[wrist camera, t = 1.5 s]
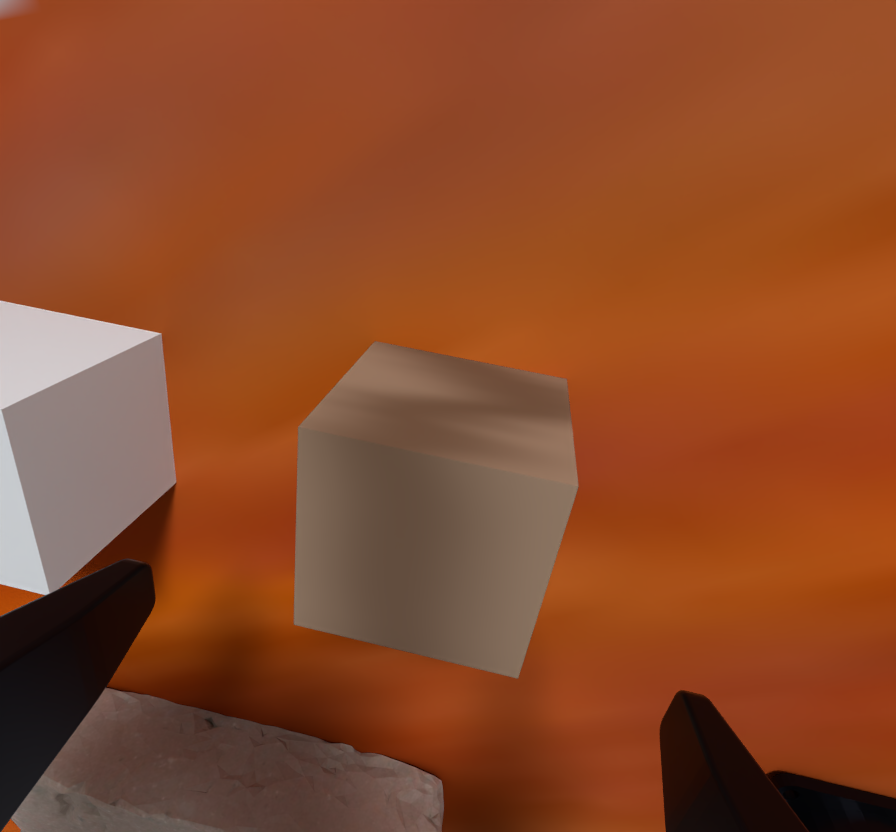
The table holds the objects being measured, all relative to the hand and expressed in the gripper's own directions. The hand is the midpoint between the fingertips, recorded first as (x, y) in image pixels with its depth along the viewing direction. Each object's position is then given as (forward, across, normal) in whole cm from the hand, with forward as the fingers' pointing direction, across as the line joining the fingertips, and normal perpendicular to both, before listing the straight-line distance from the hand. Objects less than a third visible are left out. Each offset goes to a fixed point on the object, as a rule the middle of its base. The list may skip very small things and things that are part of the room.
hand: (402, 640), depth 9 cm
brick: (+7, +6, +19) cm, 21 cm away
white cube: (+7, +11, +1) cm, 13 cm away
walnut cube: (+7, 0, 0) cm, 7 cm away
